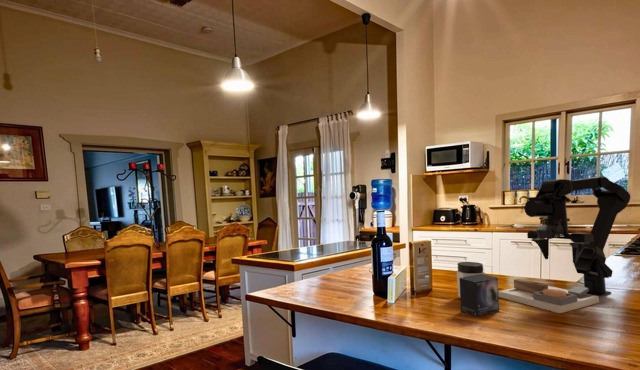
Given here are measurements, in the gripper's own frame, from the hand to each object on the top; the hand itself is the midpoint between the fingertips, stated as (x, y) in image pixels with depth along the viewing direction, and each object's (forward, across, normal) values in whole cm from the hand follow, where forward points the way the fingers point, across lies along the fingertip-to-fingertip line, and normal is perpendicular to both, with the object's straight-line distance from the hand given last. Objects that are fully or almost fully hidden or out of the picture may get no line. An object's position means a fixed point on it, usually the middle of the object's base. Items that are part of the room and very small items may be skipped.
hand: (560, 261), depth 114 cm
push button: (+9, +5, -13) cm, 17 cm away
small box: (+12, -3, -36) cm, 38 cm away
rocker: (+8, +6, -2) cm, 11 cm away
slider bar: (+10, -5, -10) cm, 15 cm away
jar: (+12, -14, -27) cm, 33 cm away
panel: (+12, 0, -8) cm, 14 cm away
